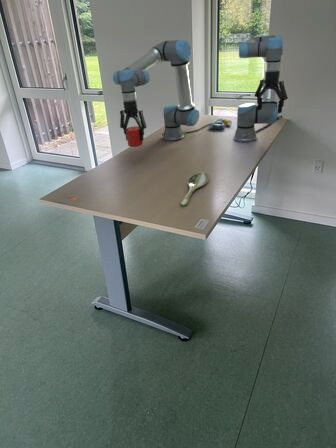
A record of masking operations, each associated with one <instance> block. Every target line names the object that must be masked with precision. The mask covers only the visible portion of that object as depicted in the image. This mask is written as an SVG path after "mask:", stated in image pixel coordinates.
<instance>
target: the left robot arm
mask: <svg viewBox="0 0 336 448" xmlns="http://www.w3.org/2000/svg"><path fill="white" fill-rule="evenodd" d="M192 55H193V49H192V46H191V44H190V42H188V41H187V40H186V39H173V40H164V41H161V42H160V43H157V44H155V45H154V46H153V47H151V48H149V50H148V52H147V53H145V54H144V55H142V56H141V57H139V58H138V59H136V60H135V61H134V62H132V63H131V64H129V65H128V66H126V67H125V68H124V69H121V70H115V71H114V72H113V74H112V80H113V83H114V84H115V85H117V86H120V89H121V96H122V100H123V101H122V103H123V109H122V110H120V111H119V114H120V115H119V116H120V122H119V127H120V129H123V133H124V135H125V141H127V134H126V129H127V128H128V125H129V121H130V119H134V121H135V122H136V125H137V127H139V128H140V130H139V133H140V141H144V139H145V138H144V135H145V129H146V128H147V127H148V126H147V124H146V120H145V117H144V111H143V110H142V109H141V110H139V109H138V101H137V94H136V93H137V92H136V88H138V87H141V86H145V85H147V84H149V82H150V80H151V79H150V78H151V77H150V74H149V72H148V70H149V69H150V68H151V67H153V66H154V65H159V64H160V63H164V62H170V66H171V68H173V71H174V72H173V73H174V78H175V84H176V90H177V96H178V97H177V98H178V104H171V105H166V106H165V107H164V108H163V123H164V130H163V133H162V134H161V135H162V139H163V140H164V141H167V142H176V141H180V140H182V139H184V137H185V136H184V134H188V133H189V134H190V133H194V132H197V131H200V130H201V129H204V128H205V127H206V128H207V127H208V126H210V124H211V123H212V122H211V123H208V124H205V125H204V126H201V127H200V128H198V129H195V130H191V131H183V129H182V126H185V127H195V126H196V125H197V123H198V122H199V119H200V110H199V109H198V108H196V105H195V103H193V100H192V91H191V85H190V78H189V76H190V75H189V69H188V65H189V64H190V60H191V59H192Z"/></svg>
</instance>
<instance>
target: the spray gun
mask: <svg viewBox="0 0 336 448" xmlns="http://www.w3.org/2000/svg"><path fill="white" fill-rule="evenodd" d="M209 124H210V123H209ZM232 124H233V122H232V120H229V119H227V118H226V119H224V118H216V119H215V120H213V121H212V122H211V124H210V125H209V129H212V130H213V129H215V130H224V129H225V128H226V126H227V127H231V126H232Z"/></svg>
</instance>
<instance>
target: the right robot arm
mask: <svg viewBox="0 0 336 448" xmlns="http://www.w3.org/2000/svg"><path fill="white" fill-rule="evenodd" d="M283 54H284V42H283V37H282V36H281V35H279V34H277V35H275V34H273V35H262V36H261V35H260V36H253V37H251V38H249V39H247V40H246V41H244V42H241V43H239V45H238V58H239V59H252V58H261V62H262V63H263V65H262V66H263V67H262V79H260V80H259V84H258V87H257V88H256V91H255V93H254V98H256V103H255V102H248V103H247V102H246V103H243V104H241V105H238V107H237V112H236V115H237V117H236V119H237V120H236V130H235V133H234V135H233V140H234V141H236V142H240V143H249V142H254V141H256V140H257V132H259V131H261V130H263V129H265V128H267V127H268V126H270V125H271V124H275V123H276V122H277V120H278V119H279V118H280V117H281V118H283V116H282V115H281V116H280V115H279V114H281V113H283V107H285V101H286V100H288V99H289V98H288V94H287V90H286V86H285V81H284V80H279V79H280V76H281V75H280V74H281V71H280V70H281V62H282V56H283ZM276 95H277V98H278V99H279V100H278V101H277V100H276ZM257 124H260V125H261V124H266V125H265V126H263V127H261V128H259V129H257V130H256V129H255V125H257Z"/></svg>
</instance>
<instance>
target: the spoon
mask: <svg viewBox="0 0 336 448" xmlns="http://www.w3.org/2000/svg"><path fill="white" fill-rule="evenodd" d="M209 180H210V176H209V174H208V173H206V172H203V171H200V172H199V171H198V172H195V173H194V174H192V175H191V176H189V178H188V180H187V185H188V187H189V188H188V189H189V190H188V192H187V193H186V195H185V196H184V197H183V198H182V200H181V202H180V206H183V207H185V206H187V205H188V203H189V201H190V199H191V197H192V195H193V193H194V191H196V190H197V189H199V188H201V187H203V186H205V185H206V184H207V183H208V182H209Z"/></svg>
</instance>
